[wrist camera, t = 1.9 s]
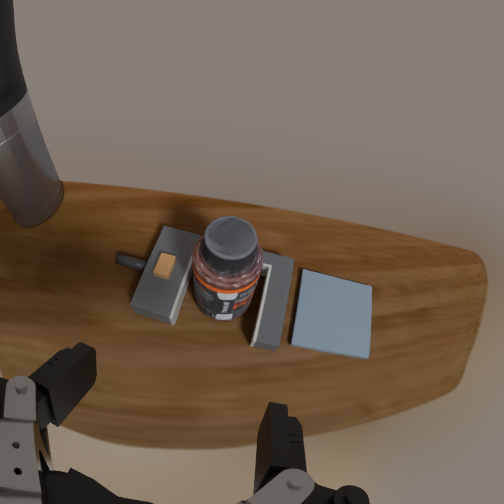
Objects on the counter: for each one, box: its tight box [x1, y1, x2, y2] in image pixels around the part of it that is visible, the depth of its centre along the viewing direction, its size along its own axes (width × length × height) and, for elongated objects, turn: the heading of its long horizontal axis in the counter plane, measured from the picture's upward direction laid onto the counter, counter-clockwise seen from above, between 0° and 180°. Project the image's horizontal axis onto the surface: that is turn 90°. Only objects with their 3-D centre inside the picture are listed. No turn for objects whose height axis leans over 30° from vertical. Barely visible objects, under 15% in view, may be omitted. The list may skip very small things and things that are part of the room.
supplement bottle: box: [192, 216, 264, 322], centre depth 26 cm, size 6×6×11 cm
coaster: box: [290, 269, 372, 359], centre depth 31 cm, size 9×9×1 cm
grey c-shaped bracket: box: [115, 226, 294, 351], centre depth 30 cm, size 19×10×3 cm, turn 78°
